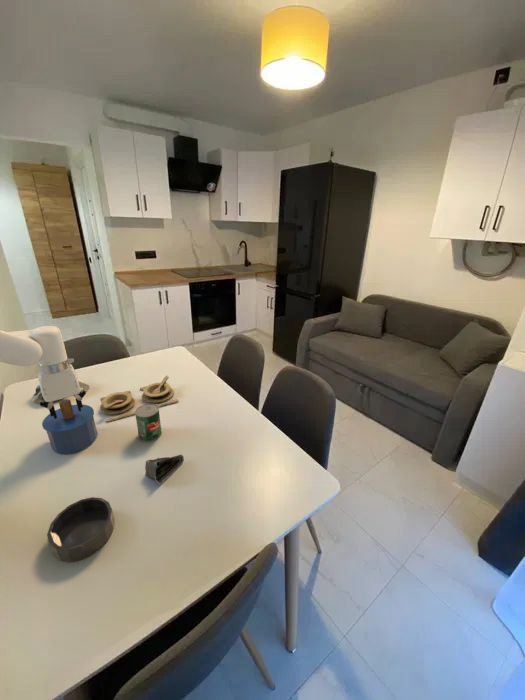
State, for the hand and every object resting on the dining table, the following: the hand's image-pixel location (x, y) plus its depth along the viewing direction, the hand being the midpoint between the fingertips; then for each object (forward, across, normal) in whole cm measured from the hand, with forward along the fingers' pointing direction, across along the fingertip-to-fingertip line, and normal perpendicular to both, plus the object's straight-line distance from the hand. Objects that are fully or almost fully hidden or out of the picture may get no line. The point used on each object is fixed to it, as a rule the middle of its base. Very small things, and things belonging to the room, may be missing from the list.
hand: (67, 412), depth 97 cm
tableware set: (+12, -26, -12) cm, 31 cm away
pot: (+12, 0, 0) cm, 12 cm away
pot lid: (+2, 0, 0) cm, 2 cm away
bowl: (+12, +4, +39) cm, 41 cm away
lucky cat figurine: (+12, +2, -38) cm, 40 cm away
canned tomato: (+12, -22, +12) cm, 28 cm away
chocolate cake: (+12, -20, +31) cm, 38 cm away
